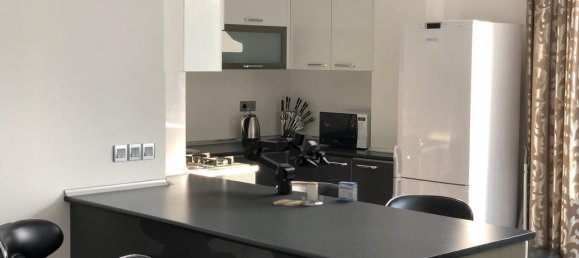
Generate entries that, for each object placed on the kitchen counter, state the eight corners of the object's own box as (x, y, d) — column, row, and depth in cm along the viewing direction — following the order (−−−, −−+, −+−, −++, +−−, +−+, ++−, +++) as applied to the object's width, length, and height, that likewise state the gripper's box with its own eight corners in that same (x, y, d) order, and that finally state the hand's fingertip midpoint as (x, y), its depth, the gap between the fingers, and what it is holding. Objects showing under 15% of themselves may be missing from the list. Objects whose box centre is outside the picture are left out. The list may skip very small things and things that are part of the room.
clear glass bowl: (298, 203, 376) (298, 195, 376) (318, 201, 381) (318, 194, 380) (306, 206, 368) (306, 199, 367) (327, 205, 372) (327, 197, 372)
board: (273, 204, 374) (273, 202, 374) (282, 201, 382) (282, 199, 382) (294, 206, 369) (294, 203, 369) (303, 203, 377) (303, 201, 377)
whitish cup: (305, 200, 373) (305, 183, 372) (309, 198, 377) (310, 181, 377) (314, 201, 371) (315, 183, 370) (319, 199, 375) (319, 182, 374)
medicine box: (338, 200, 385) (338, 182, 384) (342, 199, 389) (342, 181, 388) (353, 201, 381) (353, 183, 381) (357, 200, 385) (357, 182, 385)
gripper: (291, 139, 387) (314, 151, 377) (316, 137, 401) (339, 148, 391) (285, 161, 390) (309, 173, 380) (311, 158, 404) (334, 170, 394)
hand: (323, 165), depth 386 cm, fingers open, 9 cm apart
